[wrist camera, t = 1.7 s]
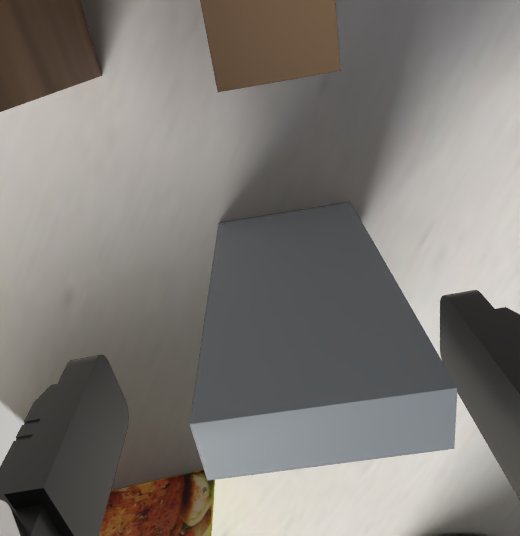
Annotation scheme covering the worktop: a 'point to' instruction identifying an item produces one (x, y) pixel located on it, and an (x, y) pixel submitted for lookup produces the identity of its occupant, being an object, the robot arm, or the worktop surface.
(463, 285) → the worktop surface
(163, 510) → the food package
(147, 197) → the worktop surface
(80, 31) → the domino
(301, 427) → the domino
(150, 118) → the worktop surface
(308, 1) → the domino
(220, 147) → the worktop surface
